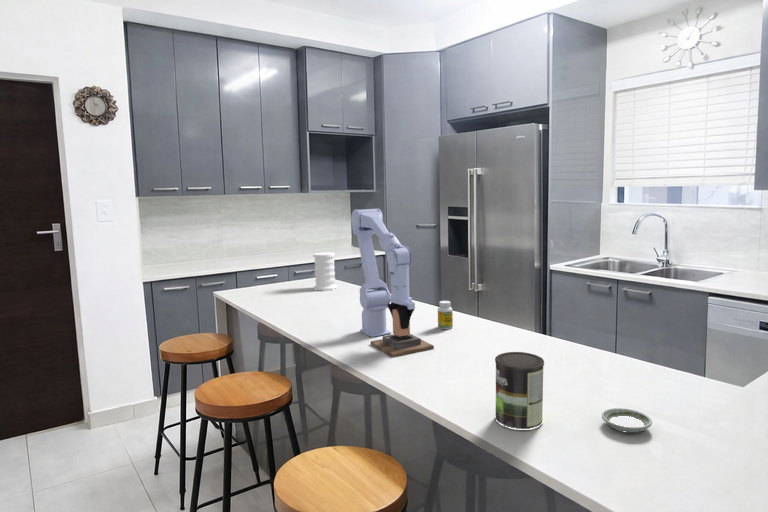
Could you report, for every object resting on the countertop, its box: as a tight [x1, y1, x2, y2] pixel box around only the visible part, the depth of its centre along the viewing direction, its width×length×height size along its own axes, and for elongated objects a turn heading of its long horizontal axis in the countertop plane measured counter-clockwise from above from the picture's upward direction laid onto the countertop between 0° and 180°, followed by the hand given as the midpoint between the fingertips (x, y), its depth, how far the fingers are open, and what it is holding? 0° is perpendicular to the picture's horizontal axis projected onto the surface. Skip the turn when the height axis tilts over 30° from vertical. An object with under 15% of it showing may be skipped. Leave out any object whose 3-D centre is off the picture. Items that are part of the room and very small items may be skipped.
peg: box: [392, 309, 411, 337], centre depth 167 cm, size 4×4×8 cm
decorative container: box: [312, 251, 338, 291], centre depth 263 cm, size 12×12×18 cm
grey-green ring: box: [601, 407, 653, 433], centre depth 110 cm, size 10×10×2 cm
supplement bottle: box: [437, 300, 454, 330], centre depth 187 cm, size 5×5×10 cm
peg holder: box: [370, 333, 435, 358], centre depth 168 cm, size 15×15×3 cm
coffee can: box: [494, 351, 545, 429], centre depth 113 cm, size 10×10×14 cm
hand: (401, 326), depth 167 cm, fingers closed on peg, 4 cm apart
